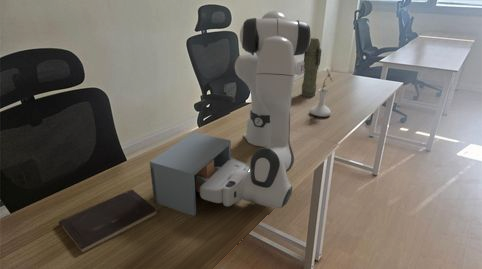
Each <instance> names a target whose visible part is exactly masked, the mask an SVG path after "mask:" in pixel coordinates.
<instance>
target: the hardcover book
mask: <svg viewBox="0 0 482 269" xmlns="http://www.w3.org/2000/svg"><path fill="white" fill-rule="evenodd" d="M157 211H158V209H157V208H156V207H154V206H153V205H152V204H151V203H150V202H148V201H147V200H146V199H145V198H143V197H142V196H141V195H140V194H138V193H137V192H136V191H134V189H133V188H132V189H129V190H126V191H124V192H121V193H120V194H117V195H115V196H112V197H111V198H108V199H106V200H103V201H101V202H99V203H97V204H94V205H92V206H90V207H87V208H85V209H83V210H81V211H78V212H76V213H73V214H71V215H68V216H67V217H65V218H62V219H60V220H59V221H58V224H59V225H60V224H61V225H62V226H61V225H60V226H61V227H62V228H63V230H64V231H65V232H66V234H67V235H68V236H69V237H70V239H71V240H72V241H73V243H74V244H75V245H76V246H77V248H78V249H79V250H80V252H81V253H85V252H87V251H88V250H90V249H92V248H94V247H96V246H99V245H100V244H102V243H104V242H105V241H108V240H110V239H111V238H113V237H115V236H117V235H119V234H121V233H123V232H125V231H128V230H129V229H131V228H133V227H134V226H137V225H138V224H141V223H142V222H144V221H146V220H148V219H149V218H152V217H153V216H156V215H157Z"/></svg>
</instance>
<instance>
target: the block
mask: <svg viewBox="0 0 482 269" xmlns="http://www.w3.org/2000/svg"><path fill="white" fill-rule="evenodd" d="M213 174H214V159H212V160H211V161H210V162H209V163H208V164H207V165H206V166H204V167H203V168H202V169H201V170H200V171H199V172H197V173H196V174H195V175H194V178H195V192H198V193H200V186H201V185H202V183H201V182H198V181H197V176H199V175H203V176H204V179H206V178H207V179H209V178H210V177H211V176H212V175H213Z"/></svg>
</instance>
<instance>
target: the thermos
mask: <svg viewBox="0 0 482 269" xmlns="http://www.w3.org/2000/svg"><path fill="white" fill-rule="evenodd" d="M321 57H322V48H321V43H320V39H318V38H315V37H314V38H313V37H311V42H310V45H309V47H308V49H307V51H306V52H305V53H304V54H303V62H304V63H303V69H304V72H303V81H302V85H301V96H302V97H305V98H314V97H315V96H316V92H317V83H316V82H317V77H318V70H319V66H320V64H321V59H322V58H321Z"/></svg>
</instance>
